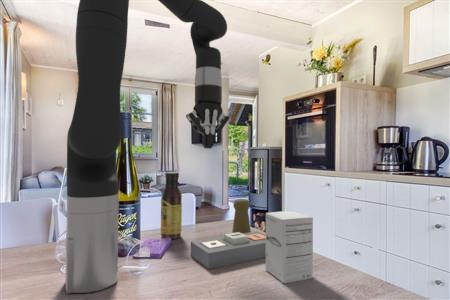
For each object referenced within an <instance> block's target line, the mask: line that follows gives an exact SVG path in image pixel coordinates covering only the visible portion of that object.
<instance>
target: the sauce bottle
mask: <svg viewBox="0 0 450 300" xmlns="http://www.w3.org/2000/svg"><path fill="white" fill-rule="evenodd" d="M164 174H165V175H164V177H165V187H164V189H163V192H162V195H161V198H160V205H161V206H160V236H161V239H163V238H171V240H174V239H176V240H177V239H179V238H180V237H181V235H182V234H181V233H182V216H183V215H182V213H183V212H182V211H183V209H182V208H183V203H182V197H183V196H182V192H181V190H180V189H179V177H180V172H178V171H166V172H165V173H164Z"/></svg>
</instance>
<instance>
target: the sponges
mask: <svg viewBox="0 0 450 300" xmlns="http://www.w3.org/2000/svg"><path fill="white" fill-rule="evenodd" d="M171 244H172V239H171V238H162V237H161V238H160V237H159V238H152V237H150V238H148V237H147V238H146V239H145V241H144V242H143V243H141V244H140V245H141V246H140V245H139V246H140V248H143V247H148V248H149V249H150V257H151V258H150V259H161V258H162V257H163V256H164V254H165V253H166V251H167V249H168V248H169V247H170V245H171ZM136 253H137V252H136ZM138 253H139V252H138Z"/></svg>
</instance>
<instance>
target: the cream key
mask: <svg viewBox="0 0 450 300" xmlns="http://www.w3.org/2000/svg"><path fill="white" fill-rule="evenodd" d="M201 245H203V246H204V247H206V248H207V249H213V248H219V247H225V246H226V245H225V244H223V243H221V242H220V241H218V240H216V241H209V242H203V243H201Z"/></svg>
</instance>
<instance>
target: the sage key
mask: <svg viewBox="0 0 450 300" xmlns="http://www.w3.org/2000/svg"><path fill="white" fill-rule="evenodd" d="M223 236H224V241H226V242H227V243H229V244H231V245H236V244H242V243H248V236H247V235H244V234H242V233H240V232H236V233H232V232H231V233H225V234H224V235H223Z"/></svg>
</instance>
